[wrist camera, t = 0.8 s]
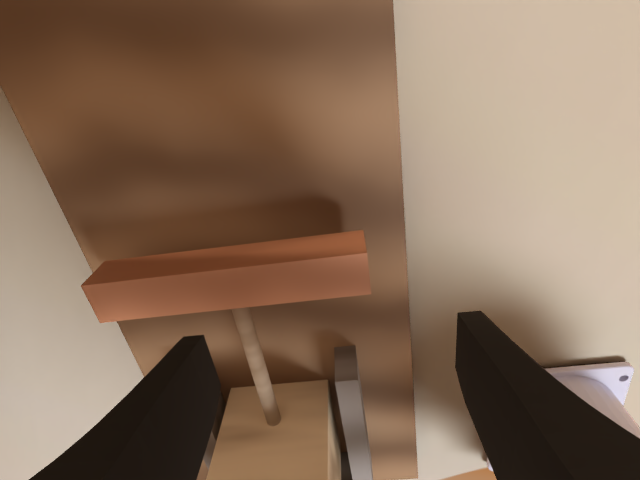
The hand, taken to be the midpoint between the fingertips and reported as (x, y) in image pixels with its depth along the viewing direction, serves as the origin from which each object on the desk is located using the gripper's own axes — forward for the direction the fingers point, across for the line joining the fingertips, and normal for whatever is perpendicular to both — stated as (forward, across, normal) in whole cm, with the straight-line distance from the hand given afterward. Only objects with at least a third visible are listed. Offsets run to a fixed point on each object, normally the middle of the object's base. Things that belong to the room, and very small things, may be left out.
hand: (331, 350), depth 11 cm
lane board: (+10, +4, +5) cm, 12 cm away
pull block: (+9, +4, +8) cm, 13 cm away
